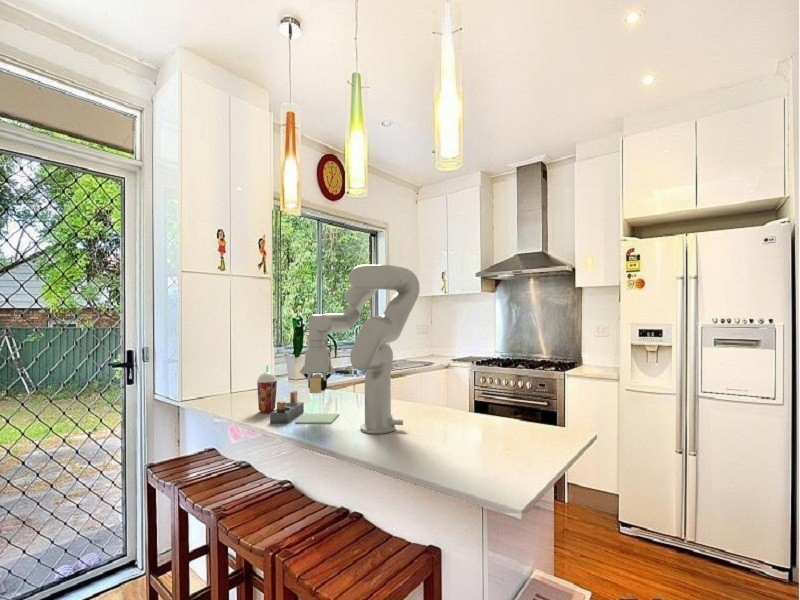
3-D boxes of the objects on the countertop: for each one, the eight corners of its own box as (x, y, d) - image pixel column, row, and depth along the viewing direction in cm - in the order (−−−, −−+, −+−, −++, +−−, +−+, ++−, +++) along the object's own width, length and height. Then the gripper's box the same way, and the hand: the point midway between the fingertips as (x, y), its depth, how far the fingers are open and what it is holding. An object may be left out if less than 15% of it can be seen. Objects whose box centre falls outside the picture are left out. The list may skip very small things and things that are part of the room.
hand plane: (303, 411, 176) (303, 390, 177) (287, 423, 156) (287, 400, 157) (287, 411, 177) (287, 390, 177) (269, 423, 157) (270, 399, 157)
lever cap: (325, 390, 167) (325, 373, 167) (320, 393, 160) (320, 375, 160) (314, 389, 167) (314, 373, 167) (309, 393, 160) (309, 375, 160)
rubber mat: (339, 415, 169) (339, 413, 169) (331, 424, 155) (331, 422, 155) (306, 415, 170) (306, 413, 170) (295, 423, 156) (295, 422, 156)
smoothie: (281, 411, 178) (281, 365, 179) (265, 415, 171) (265, 367, 172) (268, 409, 182) (268, 364, 183) (252, 412, 175) (252, 366, 176)
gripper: (340, 344, 167) (340, 388, 166) (300, 343, 168) (299, 388, 168) (336, 345, 160) (336, 392, 159) (294, 345, 161) (293, 391, 160)
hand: (317, 389), depth 163 cm, fingers closed on lever cap, 4 cm apart
